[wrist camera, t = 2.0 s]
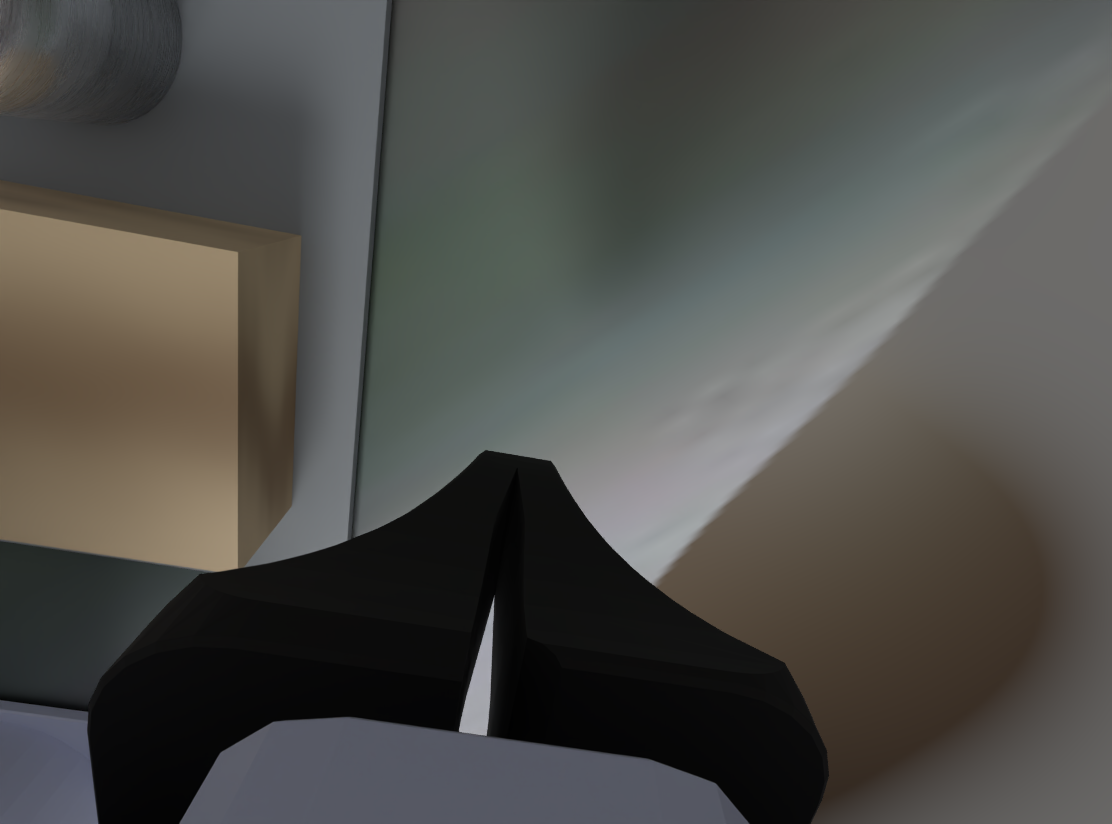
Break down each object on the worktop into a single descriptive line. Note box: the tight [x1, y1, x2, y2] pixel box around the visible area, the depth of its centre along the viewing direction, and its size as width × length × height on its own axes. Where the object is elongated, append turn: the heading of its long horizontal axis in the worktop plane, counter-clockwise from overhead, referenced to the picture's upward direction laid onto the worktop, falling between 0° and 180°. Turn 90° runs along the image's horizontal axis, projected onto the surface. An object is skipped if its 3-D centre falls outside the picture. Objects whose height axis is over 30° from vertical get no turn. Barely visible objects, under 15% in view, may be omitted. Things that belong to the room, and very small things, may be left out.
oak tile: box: [0, 180, 301, 572], centre depth 14 cm, size 7×7×3 cm
